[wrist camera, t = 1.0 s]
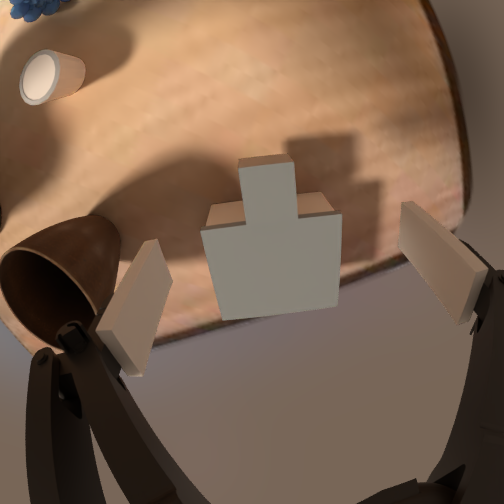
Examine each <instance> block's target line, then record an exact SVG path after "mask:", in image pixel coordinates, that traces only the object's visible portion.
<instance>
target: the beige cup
mask: <svg viewBox="0 0 504 504" xmlns="http://www.w3.org/2000/svg"><path fill="white" fill-rule="evenodd" d="M85 73H86V69H85V64H84V62H83V61H82V60H81V59H80V58H77V57H74V56H71V55H67V54H64V53H60V52H56V51H52V50H49V49H44V50H40V51H38V52H36V53H35V54H34V55H32V56H31V57H30V58H29V60H28V61H27V63H26V64H25V65H24V68H23V70H22V73H21V75H20V83H19V89H20V94H21V97H22V98H23V100H24V101H25V102H26V103H28V104H30V105H39V104H42V103H46V102H49V101H52V100H55V99H59V98H62V97H66V96H70V95H72V94H73V93H75V92H76V91H77V90H78V89H79V88H80V87H81V86H82V83H83V81H84V79H85Z"/></svg>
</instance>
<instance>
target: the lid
mask: <svg viewBox="0 0 504 504" xmlns="http://www.w3.org/2000/svg"><path fill="white" fill-rule="evenodd" d="M238 172H239V179H240V186H241V192H242V199H243V206H244V212H245V219H246V221H240V222H233V223H225V224H218V225H210V226H203V227H201V230H200V233H201V237H202V241H203V246H204V250H205V254H206V258H207V262H208V266H209V270H210V274H211V278H212V282H213V286H214V290H215V294H216V297H217V301H218V305H219V309H220V312H221V316H222V320H232V319H242V318H252V317H261V316H270V315H278V314H286V313H294V312H301V311H308V310H316V309H322V308H328V307H335V306H337V305H338V294H339V280H340V263H341V240H342V213H341V212H340V211H339V210H337V211H327V212H318V213H308V214H299V215H298V210H297V195H296V181H295V169H294V161H293V160H292V159H291V157H290V156H289V155H288V153H287V154H277V155H268V156H259V157H251V158H243V159H239V162H238Z"/></svg>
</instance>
